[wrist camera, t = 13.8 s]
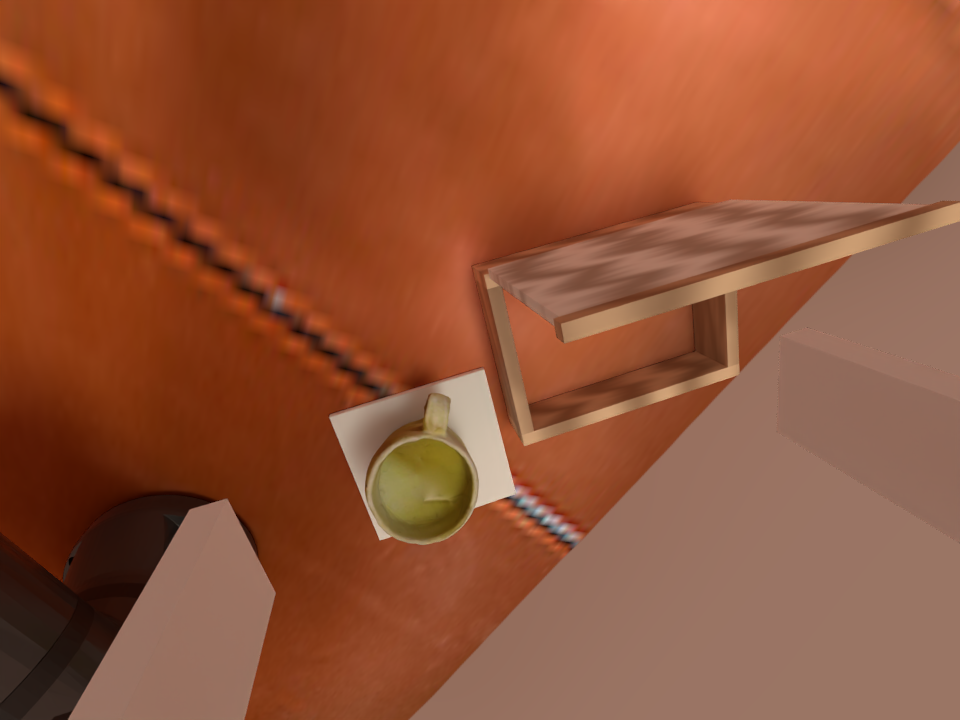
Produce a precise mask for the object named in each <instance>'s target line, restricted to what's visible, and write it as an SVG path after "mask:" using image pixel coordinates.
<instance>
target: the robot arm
mask: <svg viewBox="0 0 960 720" xmlns="http://www.w3.org/2000/svg"><path fill="white" fill-rule="evenodd" d="M777 433H779V434H781V435H782V436H784V437H786V438H787V439H789V440H790V441H792V442H794V443H795V444H797V445H799V446H800V447H802V448H804V449H805V450H807V451H809V452H810V453H812V454H813V455H815V456H817V457H819V458H820V459H822V460H824V461H825V462H827V463H828V464H830V465H832V466H833V467H835V468H837V469H838V470H840V471H841V472H843V473H845V474H846V475H848V476H850V477H851V478H853V479H855V480H857V481H858V482H860V483H861V484H863V485H865V486H866V487H868V488H869V489H871V490H873V491H874V492H876V493H878V494H879V495H881V496H883V497H884V498H886V499H888V500H889V501H891V502H893V503H894V504H896V505H897V506H899V507H901V508H903V509H904V510H906V511H907V512H909V513H911V514H912V515H914V516H916V517H917V518H919V519H921V520H922V521H924V522H925V523H927V524H929V525H930V526H932V527H934V528H935V529H937V530H939V531H940V532H942V533H943V534H945V535H947V536H949V537H950V538H952V539H953V540H955V541H957V542H958V543H960V376H957V375H954V374H951V373H948V372H945V371H942V370H939V369H936V368H932V367H929V366H926V365H923V364H920V363H917V362H914V361H911V360H907V359H904V358H901V357H898V356H895V355H892V354H889V353H886V352H883V351H879V350H876V349H873V348H870V347H867V346H864V345H861V344H858V343H854V342H851V341H848V340H845V339H842V338H839V337H836V336H833V335H830V334H827V333H824V332H820V331H817V330H814V329H811V328H808V327H807V328H804V329H800V330H797V331H794V332H790V333H787V334H784V335H780V345H779V376H778V406H777ZM274 597H275V591H274V589H273V587H272V585H271V583H270V581H269V579H268V577H267V575H266V573H265V571H264V569H263V567H262V565H261V563H260V561H259V560H258V554H257V549H256V545H255V542H254V540H253V538H252V536H251V534H250V533H249V531H248V530H247V528H246V527H245V526H244V525H243V524H242V523H241V522H240V521H239V520H238V519H237V517H236V515H235V513H234V511H233V509H232V507H231V505H230V503H229V501H228V499H224V500H220V501H217V502H213V503H210V502H207V501H204V500H201V499H197V498H193V497H187V496H180V495H155V496H148V497H142V498H138V499H134V500H131V501H128V502H125V503H123V504H120V505H118V506H116V507H114V508H112V509H110V510H109V511H107V512H106V513H104V514H103V515H101V516H100V517H99V518H98V519H97V520H96V521H95V522H94V523H93V524H92V525H91V526H90V527H89V528H88V530H87V531H86V532H85V533H84V534H83V536H82V537H81V538H80V539H79V540H78V542H77V543H76V544H75V546H74V547H73V549H72V551H71V553H70V554H69V557H68V559H67V562H66V565H65V569H64V573H63V583H62V582H61V581H59V580H58V579H57V578H56V577H54V576H53V575H52V574H51V573H49V572H48V571H47V570H46V569H45V568H43V567H42V566H41V565H40V564H38V563H37V562H36V561H35V560H34V559H32V558H31V557H30V556H29V555H27V554H26V553H25V552H24V551H22V550H21V549H20V548H19V547H18V546H16V545H15V544H14V543H13V542H11V541H10V540H9V539H8V538H7V537H5V536H4V535H3V534H2V533H0V720H244V718H245V714H246V710H247V706H248V702H249V698H250V694H251V690H252V686H253V682H254V678H255V674H256V670H257V666H258V662H259V658H260V654H261V650H262V646H263V642H264V638H265V634H266V630H267V626H268V622H269V618H270V614H271V609H272V605H273V601H274Z"/></svg>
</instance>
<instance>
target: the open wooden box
mask: <svg viewBox="0 0 960 720" xmlns="http://www.w3.org/2000/svg"><path fill="white" fill-rule="evenodd" d="M958 221H960V201H940V202H937V203H934V204H930V205H926V204H886V203H845V202H804V201H763V200H727V201H724V202H720V203H710V202H695V203H692V204H688V205H685V206H681V207H678V208H674V209H671V210H667V211H664V212H660V213H657V214H653V215H650V216H646V217H642V218H639V219H635V220H632V221H628V222H625V223H621V224H618V225H614V226H611V227H607V228H604V229H600V230H596V231H593V232H589V233H586V234H582V235H579V236H575V237H572V238H568V239H565V240H561V241H558V242H554V243H551V244H547V245H543V246H540V247H536V248H533V249H529V250H526V251H522V252H519V253H515V254H512V255H508V256H505V257H501V258H498V259H494V260H490V261H487V262H483V263H480V264H476V265H473V266H472V269H473V273H474V277H475V281H476V285H477V289H478V294H479V298H480V302H481V306H482V310H483V314H484V318H485V322H486V326H487V330H488V334H489V339H490V343H491V347H492V351H493V355H494V359H495V363H496V367H497V371H498V375H499V379H500V384H501V388H502V392H503V396H504V400H505V404H506V408H507V412H508V416H509V420H510V423H511V425H512V426H513V428H514V430H515V431H516V433H517V435H518V436H519V438H520V440H521V441H522V443H523V445H524V446H526V445H529V444H532V443H535V442H538V441H541V440H544V439H547V438H550V437H553V436H556V435H559V434H562V433H565V432H568V431H571V430H574V429H577V428H580V427H583V426H586V425H589V424H592V423H595V422H598V421H601V420H604V419H607V418H610V417H613V416H616V415H620V414H623V413H626V412H629V411H632V410H635V409H638V408H641V407H644V406H647V405H650V404H653V403H656V402H659V401H662V400H665V399H668V398H671V397H674V396H677V395H680V394H683V393H686V392H689V391H692V390H695V389H698V388H701V387H704V386H707V385H710V384H713V383H716V382H719V381H722V380H725V379H728V378H731V377H734V376H737V375H739V346H738V311H737V290H739V289H742V288H745V287H749V286H752V285H755V284H758V283H761V282H765V281H768V280H771V279H774V278H778V277H781V276H784V275H787V274H791V273H794V272H797V271H800V270H803V269H807V268H810V267H813V266H816V265H820V264H823V263H826V262H829V261H833V260H836V259H839V258H842V257H845V256H849V255H852V254H855V253H858V252H862V251H865V250H868V249H871V248H874V247H878V246H881V245H884V244H887V243H891V242H893V241H897V240H900V239H904V238H907V237H910V236H913V235H916V234H920V233H923V232H926V231H929V230H932V229H935V228H938V227H942V226H945V225H949V224H952V223H955V222H958ZM502 288H503V289H505V290H506V291H508V292H509V293H510V294H512V295H513V296H514V297H516V298H517V299H518V300H520V301H521V302H522V303H524V304H525V305H526V306H528V307H529V308H531V309H532V310H533V311H535V312H536V313H537V314H539V315H540V316H541V317H543V318H544V319H545V320H547V321H548V322H549V323H551V324H552V325H553V326H555V331H556V336H557V338H558V339H559V340H561V341H562V342H563V343H564V344H565V343H568V342H571V341H574V340H578V339H581V338H584V337H587V336H590V335H594V334H597V333H600V332H603V331H607V330H610V329H613V328H616V327H619V326H623V325H626V324H629V323H632V322H636V321H639V320H642V319H645V318H649V317H652V316H655V315H658V314H661V313H665V312H668V311H671V310H674V309H678V308H681V307H684V306H687V305H690V304H692V308H693V323H694V338H695V351H694V352H691V353H688V354H685V355H682V356H679V357H676V358H672V359H669V360H666V361H663V362H660V363H657V364H654V365H651V366H648V367H645V368H642V369H638V370H635V371H632V372H629V373H626V374H623V375H620V376H617V377H614V378H611V379H607V380H604V381H601V382H598V383H595V384H592V385H589V386H586V387H583V388H580V389H576V390H573V391H570V392H567V393H564V394H561V395H558V396H555V397H552V398H549V399H545V400H542V401H539V402H536V403H533V404H530V405H528V402H527V397H526V393H525V388H524V384H523V379H522V375H521V370H520V366H519V361H518V357H517V352H516V348H515V343H514V339H513V335H512V330H511V326H510V321H509V317H508V312H507V308H506V303H505V299H504V294H503V290H502Z"/></svg>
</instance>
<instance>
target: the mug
mask: <svg viewBox="0 0 960 720" xmlns="http://www.w3.org/2000/svg"><path fill="white" fill-rule="evenodd" d="M450 403H451V399H450V398H449V397H447V396H445V395H443V394H439V393H431V394H429V395H428V398H427V401H426V404H425V406H424V417H423V418H422V419H420V420H417V421H414V422H410V423H408V424H406V425H404V426H402V427H400V428H398V429H397V430H395V431H394V432H393V433H392V434H391V435H389V437H388V438H387V439H386V440H385V441H384V442H383V444H382V445H381V446H380V447H379V449H378V450H377V451H376V453H375V454H374V456H373V457H372V459H371V462H370V464H369V466H368V469H367V473H366V480H365V496H366V500H367V503H368V507H369V508H370V510H371V512H372V514H373V516H374V517H375V519H376V521H377V523H378V525H379V526H380V527H381V528H382V529H383V530H384V531H385V532H386V533H387V534H388V535H390V536H392V537H394V538H396V539H397V540H400V541H404V542H407V543H415V544H419V545H427V544H431V543H434V542H440V541H443V540H445V539H447V538H449V537H450V536H452V535H453V534H455V533H456V532H457V531H458V530H460V529H461V528H462V526H463V525H464V524H465V523H466V522H467V520H468V519H469V518H470V516H471V514H472V512H473V510H474V507H475V505H476V502H477V498H478V489H479V479H478V472H477V469H476V466H475V463H474V462H473V460H472V458H471V456H470V454H469V452H468V451H467V448H466V446H465V444H464V443H463V441H462V439H461V438H460V437H459V436H458V435H457V434H456V433H455V432H453V431H452V430H451V429H450V428H449V427H448V426H447V425H448V416H449V411H450Z"/></svg>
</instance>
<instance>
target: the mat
mask: <svg viewBox="0 0 960 720" xmlns="http://www.w3.org/2000/svg"><path fill="white" fill-rule="evenodd" d="M431 393H439V394H443V395H445V396H447V397H449V398H450V399H451V403H450V411H449V416H448V425H447V426H448V427H449V428H450V429H451V430H452V431H453V432H455V433H456V434H457V435H458V436H459V437H460V438H461V439H462V441H463V443H464V444H465V446H466V448H467V451H468V452H469V454H470V456H471V458H472V460H473V462H474V463H475V466H476V469H477V472H478V479H479V489H478V498H477V502H476V505H475V507H474V508H476V507H479V506H482V505H485V504H488V503H490V502H493V501H496V500H499V499H502V498H505V497H508V496H511V495H514V494H516V492H515V488H514V484H513V480H512V476H511V472H510V468H509V464H508V460H507V457H506V453H505V449H504V445H503V441H502V437H501V433H500V429H499V425H498V421H497V418H496V414H495V410H494V406H493V402H492V398H491V394H490V390H489V386H488V382H487V378H486V375H485V371H484V368H483V367H481V368H478V369H475V370H472V371H469V372H465V373H462V374H459V375H456V376H452V377H449V378H446V379H443V380H439V381H436V382H433V383H430V384H426V385H423V386H420V387H417V388H414V389H410V390H407V391H404V392H401V393H397V394H394V395H391V396H388V397H384V398H381V399H378V400H375V401H372V402H368V403H365V404H362V405H359V406H355V407H352V408H349V409H346V410H342V411H339V412H336V413H333V414H330V416H329V418H330V420H331V423H332V425H333V428H334V430H335V433H336V435H337V437H338V440H339V442H340V445H341V447H342V450H343V452H344V454H345V457H346V459H347V462H348V464H349V467H350V469H351V472H352V474H353V476H354V479H355V481H356V484H357V486H358V489H359V491H360V493H361V496H362V498H363V501H364V503H365V506H366V508H367V510H368V513H369V515H370V518H371V520H372V523H373V525H374V527H375V530H376V532H377V535H378V537H379V540H383V539H386V538H389V537H392V536H390V535H388V534H387V533H386V532H385V531H384V530H383V529H382V528H381V527H380V526H379V525H378V523H377V521H376V519H375V517H374V516H373V514H372V512H371V510H370V508H369V507H368V503H367V500H366V496H365V480H366V473H367V469H368V466H369V464H370V462H371V459H372V457H373V456H374V454H375V453H376V451H377V450H378V449H379V447H380V446H381V445H382V444H383V442H384V441H385V440H386V439H387V438H388V437H389V435H391V434H392V433H393V432H394V431H395V430H397V429H398V428H400V427H402V426H404V425H406V424H408V423H410V422H414V421H417V420H420V419H422V418H423V417H424V406H425V404H426V401H427V398H428V395H429V394H431Z"/></svg>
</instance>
